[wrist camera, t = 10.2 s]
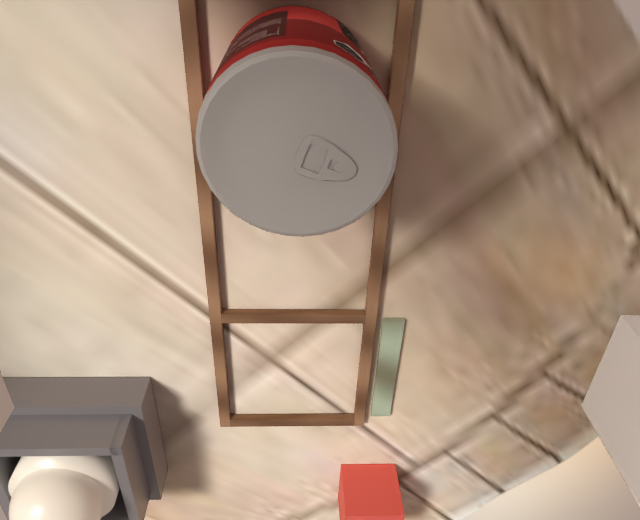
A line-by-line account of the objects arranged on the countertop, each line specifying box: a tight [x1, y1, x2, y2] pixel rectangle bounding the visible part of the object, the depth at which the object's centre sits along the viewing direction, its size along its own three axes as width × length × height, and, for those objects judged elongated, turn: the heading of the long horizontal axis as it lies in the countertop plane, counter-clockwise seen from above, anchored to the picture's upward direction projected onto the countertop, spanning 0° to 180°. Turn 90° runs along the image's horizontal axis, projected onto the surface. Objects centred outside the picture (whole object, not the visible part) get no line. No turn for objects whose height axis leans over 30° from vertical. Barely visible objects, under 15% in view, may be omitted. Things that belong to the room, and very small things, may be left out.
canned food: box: [195, 6, 398, 236], centre depth 25 cm, size 8×8×11 cm
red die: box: [338, 464, 405, 520], centre depth 48 cm, size 5×5×6 cm
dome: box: [8, 456, 120, 520], centre depth 39 cm, size 8×8×6 cm
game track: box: [178, 0, 415, 427], centre depth 36 cm, size 34×14×1 cm, turn 178°
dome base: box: [0, 377, 168, 520], centre depth 42 cm, size 12×12×6 cm
